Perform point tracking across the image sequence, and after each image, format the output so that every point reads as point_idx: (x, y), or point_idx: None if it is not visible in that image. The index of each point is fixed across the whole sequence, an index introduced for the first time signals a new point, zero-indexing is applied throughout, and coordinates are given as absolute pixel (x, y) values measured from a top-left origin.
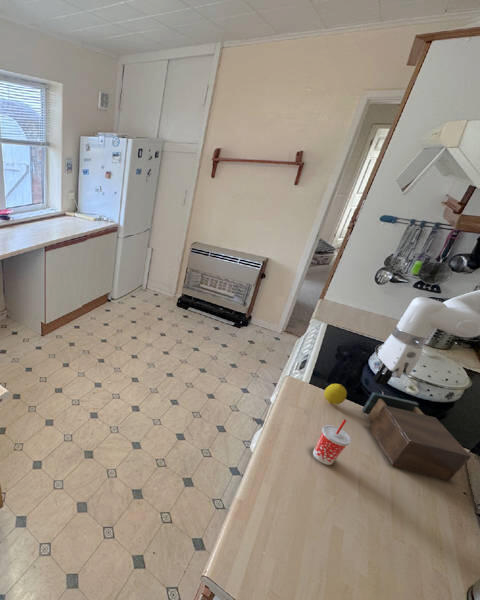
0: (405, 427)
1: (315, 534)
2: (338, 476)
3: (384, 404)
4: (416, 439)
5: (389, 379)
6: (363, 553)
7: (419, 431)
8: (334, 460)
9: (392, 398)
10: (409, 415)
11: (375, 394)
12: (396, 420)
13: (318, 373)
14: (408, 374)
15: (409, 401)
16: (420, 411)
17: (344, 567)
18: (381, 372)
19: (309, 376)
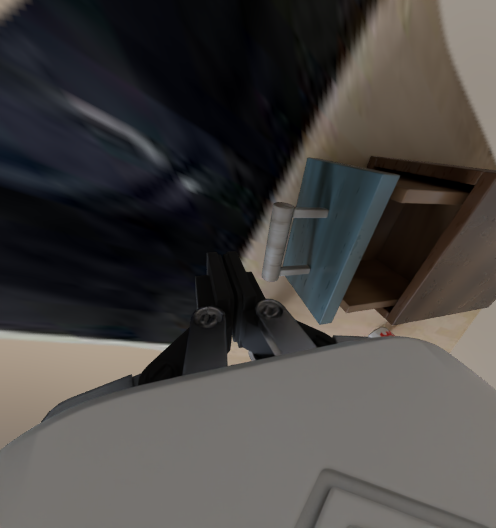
0: (464, 302)
1: (434, 342)
2: (401, 324)
3: (372, 307)
4: (494, 295)
5: (246, 274)
6: (458, 318)
7: (489, 278)
8: (394, 335)
9: (351, 277)
10: (446, 276)
11: (331, 320)
12: (442, 314)
13: (110, 328)
14: (439, 351)
15: (373, 213)
16: (427, 196)
17: (457, 329)
18: (231, 337)
19: (152, 345)
